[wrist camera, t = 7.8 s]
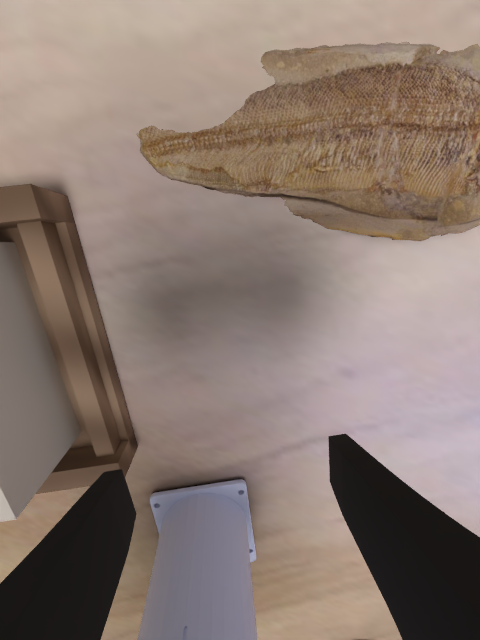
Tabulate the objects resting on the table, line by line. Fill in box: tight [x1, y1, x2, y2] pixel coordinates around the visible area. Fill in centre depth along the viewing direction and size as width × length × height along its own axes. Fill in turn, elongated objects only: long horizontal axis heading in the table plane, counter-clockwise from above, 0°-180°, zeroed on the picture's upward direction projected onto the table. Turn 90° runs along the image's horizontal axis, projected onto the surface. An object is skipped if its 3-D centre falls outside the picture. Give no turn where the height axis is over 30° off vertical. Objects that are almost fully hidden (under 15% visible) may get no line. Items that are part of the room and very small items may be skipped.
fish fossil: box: [137, 42, 480, 241], centre depth 15 cm, size 26×10×1 cm, turn 92°
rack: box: [0, 184, 138, 494], centre depth 16 cm, size 18×10×3 cm, turn 7°
